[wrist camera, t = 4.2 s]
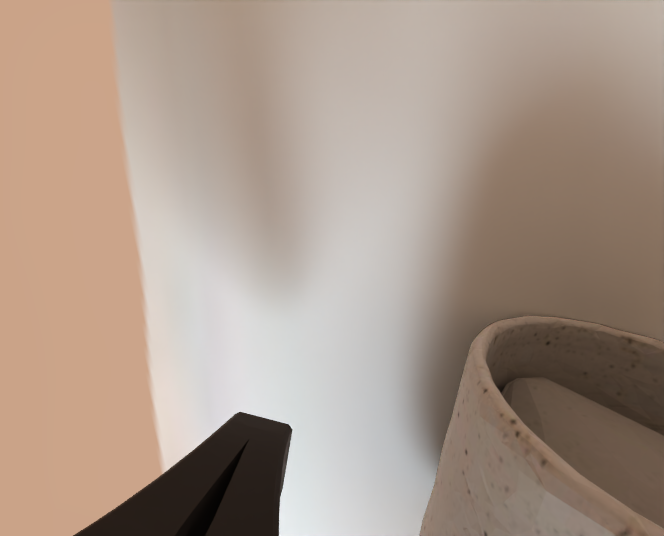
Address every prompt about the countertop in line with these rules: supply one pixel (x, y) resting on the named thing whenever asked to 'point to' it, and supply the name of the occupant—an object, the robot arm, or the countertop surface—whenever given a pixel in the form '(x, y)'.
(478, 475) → the ceramic mug
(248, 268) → the countertop surface
